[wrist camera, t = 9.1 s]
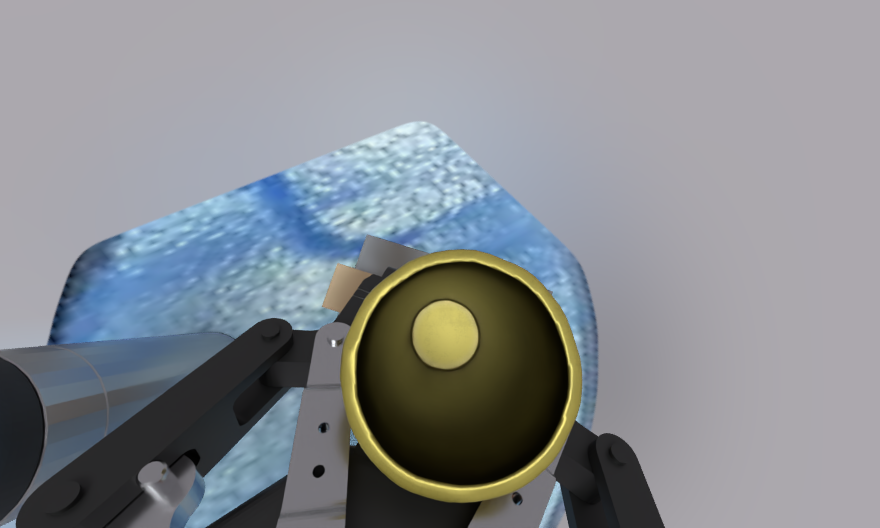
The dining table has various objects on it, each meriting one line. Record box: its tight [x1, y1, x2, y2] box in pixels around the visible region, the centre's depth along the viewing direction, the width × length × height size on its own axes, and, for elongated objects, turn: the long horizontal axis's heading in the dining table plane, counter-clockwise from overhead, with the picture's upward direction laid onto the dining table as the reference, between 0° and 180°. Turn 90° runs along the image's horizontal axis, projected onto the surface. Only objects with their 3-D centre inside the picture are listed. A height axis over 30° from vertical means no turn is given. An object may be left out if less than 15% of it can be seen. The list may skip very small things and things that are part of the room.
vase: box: [340, 249, 582, 503], centre depth 14 cm, size 6×6×14 cm
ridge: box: [322, 235, 552, 315], centre depth 31 cm, size 20×12×6 cm, turn 72°
